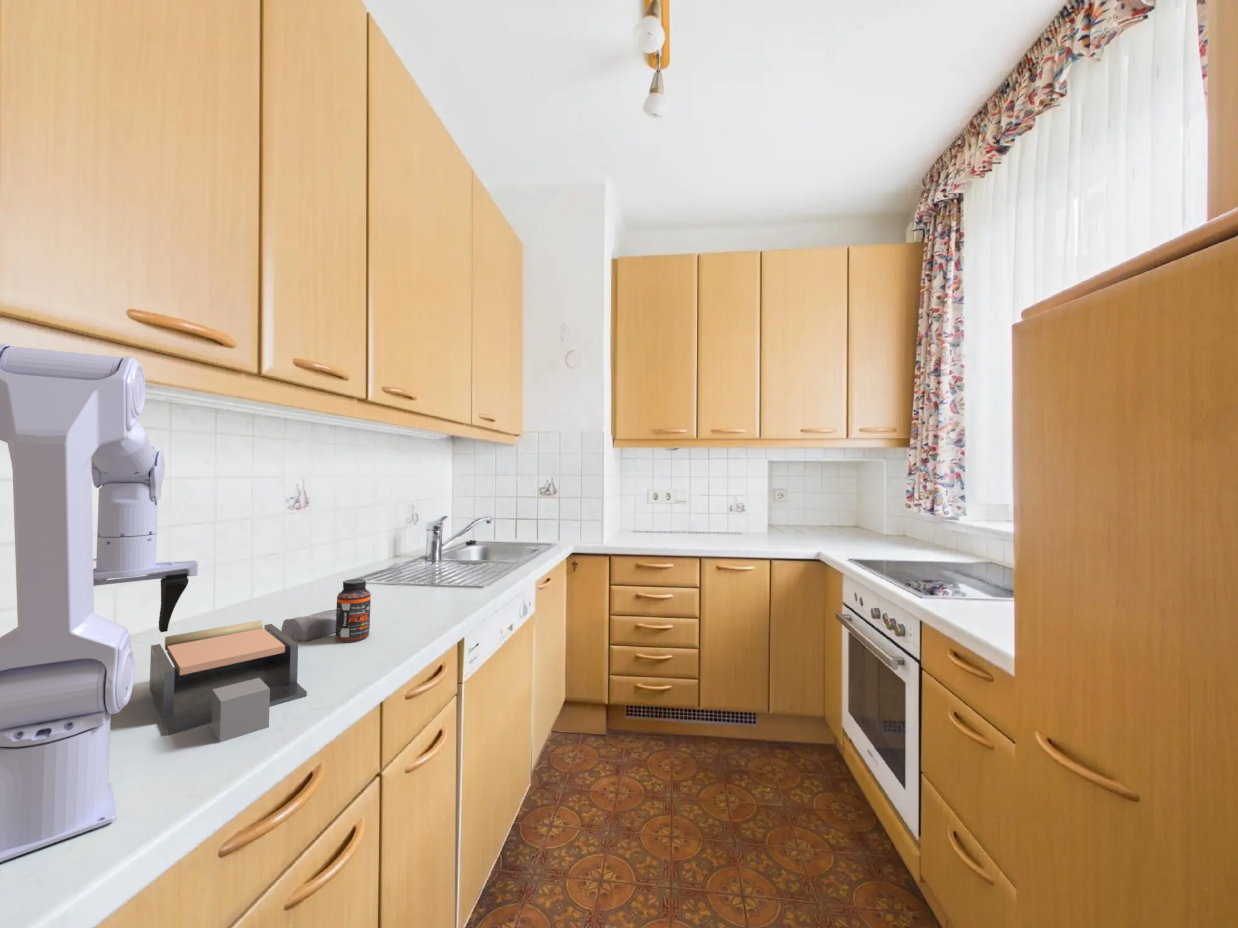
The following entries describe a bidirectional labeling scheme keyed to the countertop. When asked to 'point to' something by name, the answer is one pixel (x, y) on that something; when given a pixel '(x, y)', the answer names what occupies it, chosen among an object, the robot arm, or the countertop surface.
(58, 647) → the robot arm
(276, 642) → the trapdoor
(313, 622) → the stone block
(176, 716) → the trapdoor frame
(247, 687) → the grey cube
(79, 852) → the countertop surface
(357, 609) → the supplement bottle
